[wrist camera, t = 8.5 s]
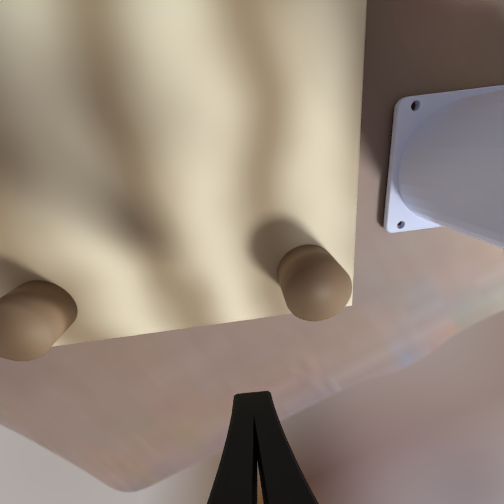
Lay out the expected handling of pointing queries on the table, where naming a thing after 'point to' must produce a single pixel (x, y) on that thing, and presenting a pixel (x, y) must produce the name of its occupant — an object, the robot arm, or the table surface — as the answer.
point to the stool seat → (175, 164)
